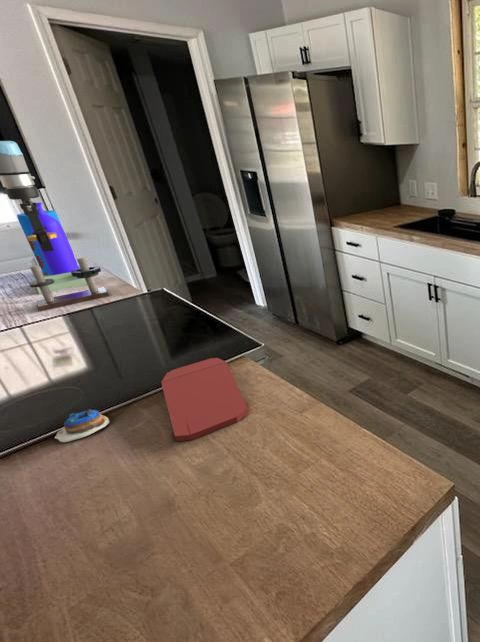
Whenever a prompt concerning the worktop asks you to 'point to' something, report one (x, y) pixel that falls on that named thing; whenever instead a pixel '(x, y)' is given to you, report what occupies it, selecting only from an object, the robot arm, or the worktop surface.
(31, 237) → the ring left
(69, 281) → the tray
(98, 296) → the rack
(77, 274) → the ring right
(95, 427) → the dessert
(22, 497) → the worktop surface
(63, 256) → the bottle
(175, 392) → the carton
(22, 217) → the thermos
